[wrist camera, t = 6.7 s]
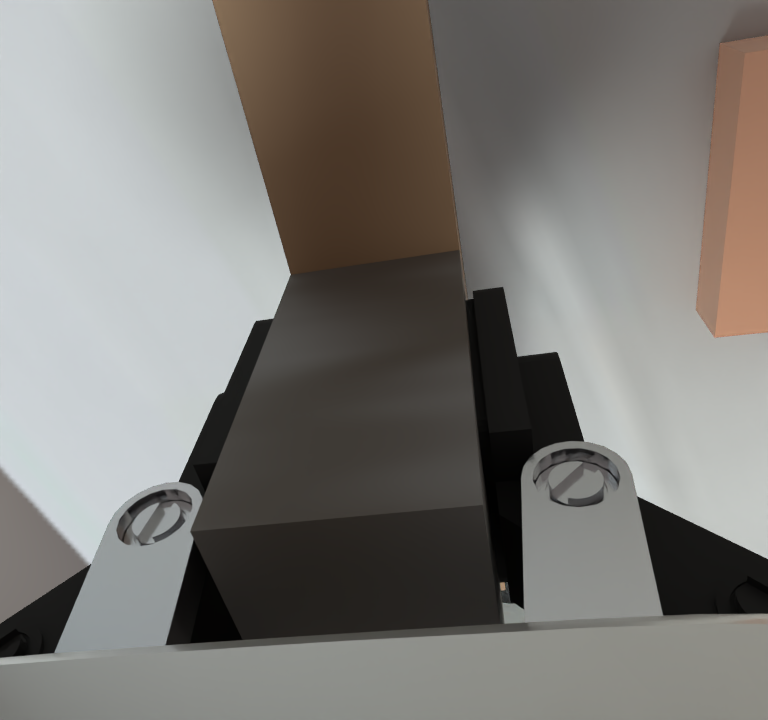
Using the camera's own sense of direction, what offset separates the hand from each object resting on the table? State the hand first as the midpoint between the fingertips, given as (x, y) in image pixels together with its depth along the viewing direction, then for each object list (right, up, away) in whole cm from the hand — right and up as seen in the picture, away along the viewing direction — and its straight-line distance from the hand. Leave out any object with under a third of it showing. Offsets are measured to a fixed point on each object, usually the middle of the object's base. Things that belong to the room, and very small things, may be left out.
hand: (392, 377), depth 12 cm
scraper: (0, +1, +2) cm, 3 cm away
